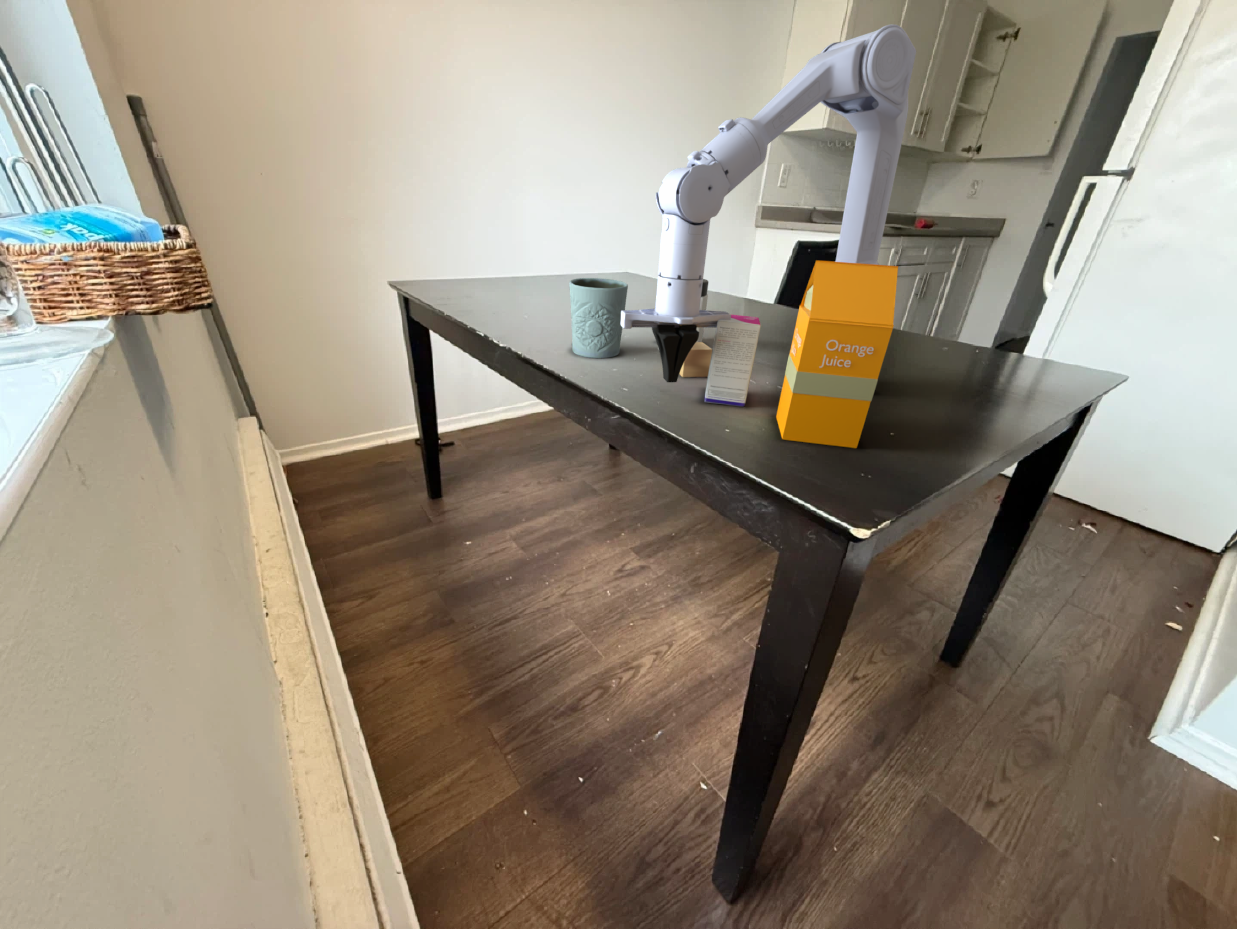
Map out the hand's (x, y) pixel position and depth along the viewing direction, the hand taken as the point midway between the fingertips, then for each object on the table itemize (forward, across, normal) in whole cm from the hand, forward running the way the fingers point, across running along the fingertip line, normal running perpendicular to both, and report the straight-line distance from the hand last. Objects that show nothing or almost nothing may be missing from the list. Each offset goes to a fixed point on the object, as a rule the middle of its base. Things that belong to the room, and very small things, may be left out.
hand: (669, 380), depth 70 cm
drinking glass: (+3, -6, +25) cm, 26 cm away
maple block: (+3, +8, +12) cm, 15 cm away
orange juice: (+3, +16, -12) cm, 20 cm away
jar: (+3, +12, +31) cm, 33 cm away
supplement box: (+3, +9, 0) cm, 9 cm away
